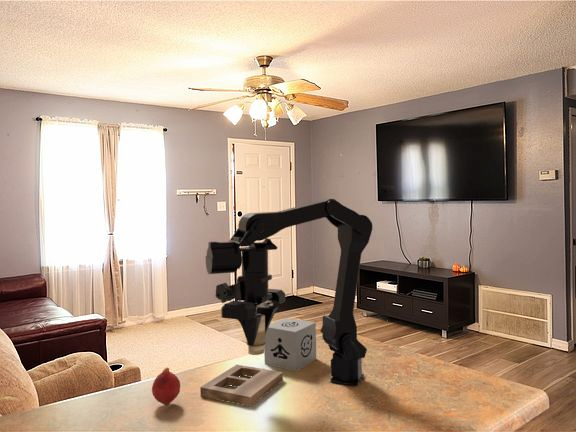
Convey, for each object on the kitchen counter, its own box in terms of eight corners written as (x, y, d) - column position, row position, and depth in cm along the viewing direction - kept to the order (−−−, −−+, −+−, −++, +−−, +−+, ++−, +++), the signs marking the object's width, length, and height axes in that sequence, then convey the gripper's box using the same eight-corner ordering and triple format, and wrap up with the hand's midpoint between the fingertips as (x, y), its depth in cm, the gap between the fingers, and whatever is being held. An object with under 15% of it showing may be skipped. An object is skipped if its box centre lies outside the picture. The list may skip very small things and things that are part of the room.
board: (282, 380, 110) (282, 372, 110) (250, 406, 97) (250, 397, 97) (236, 372, 116) (236, 364, 116) (200, 395, 102) (200, 387, 102)
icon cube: (285, 352, 130) (284, 317, 129) (316, 359, 124) (315, 322, 124) (264, 364, 121) (263, 326, 121) (296, 371, 116) (295, 332, 115)
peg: (268, 350, 101) (268, 314, 101) (260, 356, 97) (259, 319, 97) (252, 348, 103) (252, 313, 103) (243, 354, 99) (242, 317, 99)
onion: (173, 412, 95) (172, 373, 95) (147, 410, 96) (146, 372, 96) (185, 399, 101) (183, 363, 100) (160, 398, 102) (159, 362, 101)
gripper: (244, 263, 111) (245, 327, 112) (198, 275, 95) (199, 350, 95) (286, 266, 107) (286, 332, 107) (245, 278, 90) (246, 357, 90)
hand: (255, 342), depth 100 cm, fingers closed on peg, 4 cm apart
